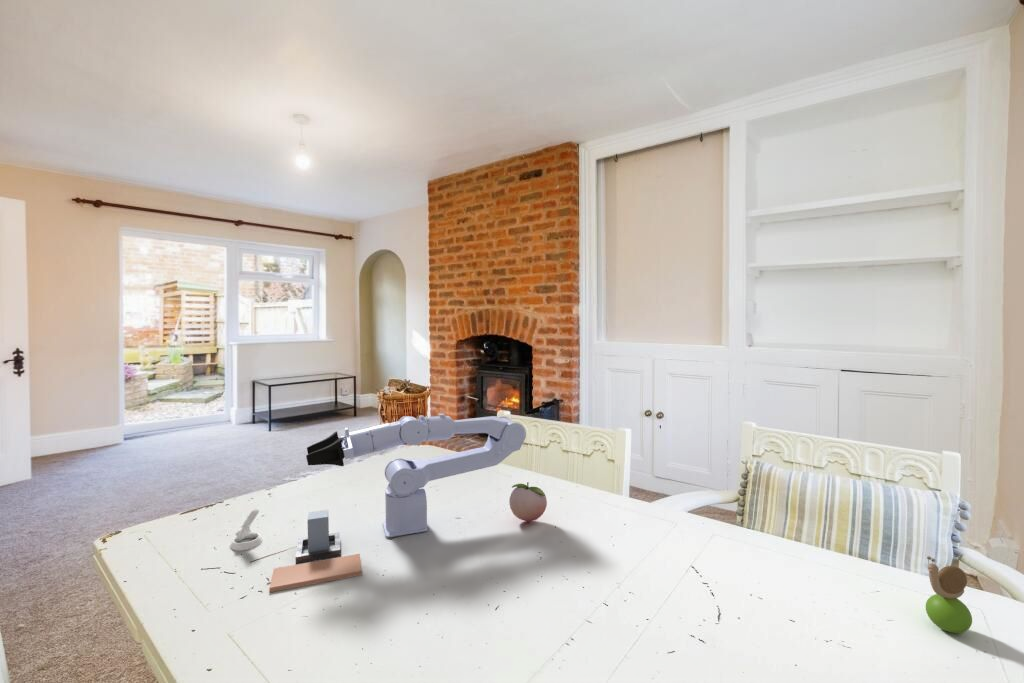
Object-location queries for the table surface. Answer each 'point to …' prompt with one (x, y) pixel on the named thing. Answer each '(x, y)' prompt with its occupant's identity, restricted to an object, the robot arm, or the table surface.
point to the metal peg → (318, 531)
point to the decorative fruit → (527, 502)
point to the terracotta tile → (315, 572)
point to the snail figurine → (948, 598)
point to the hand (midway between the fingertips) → (307, 456)
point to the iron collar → (318, 554)
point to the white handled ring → (246, 534)
